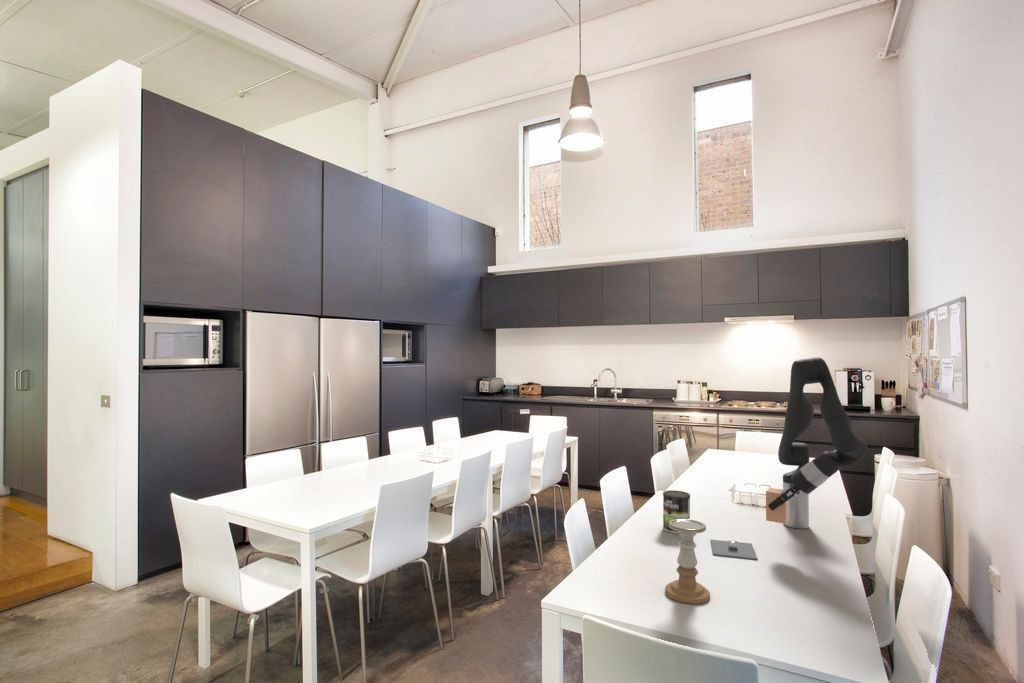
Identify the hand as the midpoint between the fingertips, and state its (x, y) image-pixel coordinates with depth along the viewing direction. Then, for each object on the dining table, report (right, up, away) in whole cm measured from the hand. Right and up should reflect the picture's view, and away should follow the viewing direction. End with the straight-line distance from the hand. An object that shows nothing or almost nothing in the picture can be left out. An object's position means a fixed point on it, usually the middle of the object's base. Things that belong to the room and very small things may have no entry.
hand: (772, 505), depth 188 cm
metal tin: (-13, -16, +2) cm, 21 cm away
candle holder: (-41, -15, -34) cm, 55 cm away
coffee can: (-26, -17, +24) cm, 39 cm away
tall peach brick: (+1, -4, -1) cm, 5 cm away
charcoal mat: (-13, -16, +2) cm, 21 cm away
